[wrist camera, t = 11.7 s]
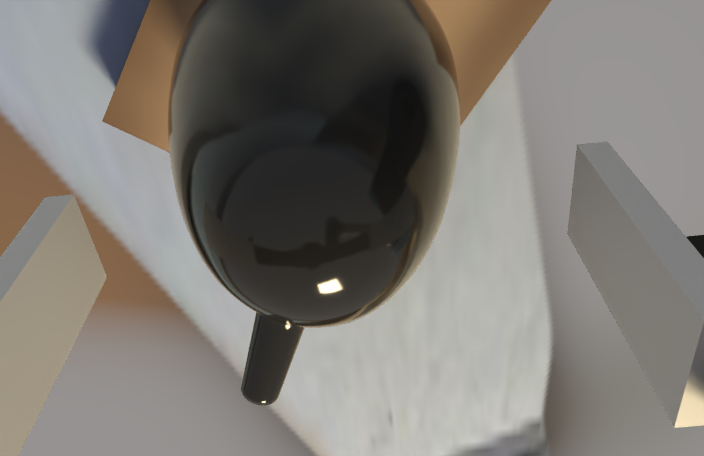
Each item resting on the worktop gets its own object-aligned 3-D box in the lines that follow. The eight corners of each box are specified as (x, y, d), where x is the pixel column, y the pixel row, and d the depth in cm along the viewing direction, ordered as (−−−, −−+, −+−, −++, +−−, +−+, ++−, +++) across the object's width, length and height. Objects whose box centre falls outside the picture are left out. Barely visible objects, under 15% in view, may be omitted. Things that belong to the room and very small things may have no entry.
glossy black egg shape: (173, 135, 28) (50, 399, 16) (225, -114, 23) (103, -20, 10) (385, 195, 30) (429, 470, 18) (478, -20, 25) (635, 155, 12)
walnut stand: (531, -18, 28) (551, -1, 26) (369, 214, 34) (373, 246, 32) (244, -211, 24) (234, -214, 21) (120, 95, 30) (102, 121, 28)
